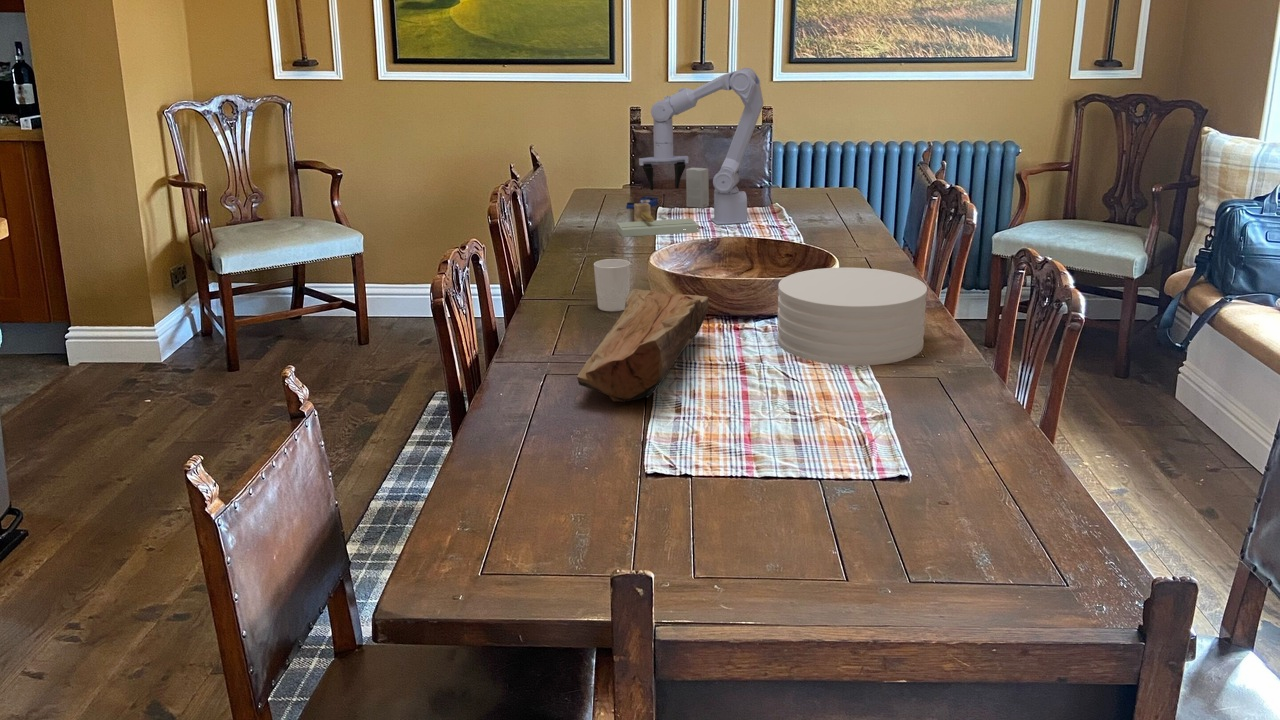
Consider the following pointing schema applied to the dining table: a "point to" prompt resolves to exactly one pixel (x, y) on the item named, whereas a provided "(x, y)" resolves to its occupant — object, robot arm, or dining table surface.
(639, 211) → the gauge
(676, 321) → the log
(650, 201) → the bar clamp
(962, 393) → the dining table surface
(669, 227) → the board
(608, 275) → the white cup
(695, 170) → the skincare box
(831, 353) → the plate stack
